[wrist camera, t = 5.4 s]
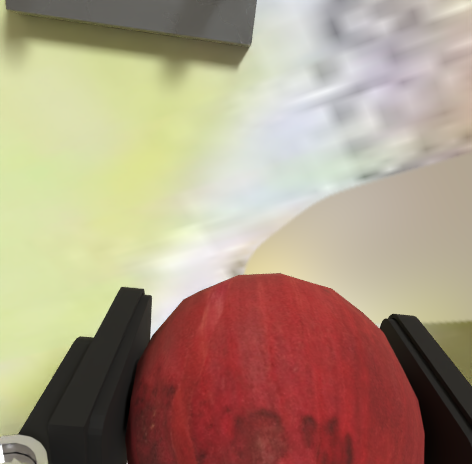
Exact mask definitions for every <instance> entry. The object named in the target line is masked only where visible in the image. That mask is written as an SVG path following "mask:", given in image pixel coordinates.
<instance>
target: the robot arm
mask: <svg viewBox="0 0 472 464" xmlns="http://www.w3.org/2000/svg"><path fill="white" fill-rule="evenodd" d="M151 307H152V296H151V295H145V292H144V289H138V288H128V287H121V288H120V290H119V292H118V294H117V296H116V297H115V299H114V301H113V303H112V305H111V307H110V309H109V311H108V312H107V314H106V316H105V318H104V320H103V322H102V324H101V325H100V327H99V329H98V331H97V333H96V335H95V337H94V338H91V337H78V338H77V339H76V340H75V341H74V343H73V344H72V346H71V348H70V349H69V351H68V353H67V354H66V356H65V358H64V359H63V361H62V363H61V364H60V366H59V367H58V369H57V371H56V372H55V374H54V376H53V377H52V379H51V381H50V382H49V384H48V386H47V387H46V389H45V391H44V392H43V394H42V396H41V397H40V399H39V401H38V402H37V404H36V406H35V407H34V409H33V411H32V412H31V414H30V416H29V417H28V419H27V421H26V422H25V424H24V426H23V427H22V429H21V431H20V432H19V434H18V435H9V436H2V437H0V464H126V463H127V452H126V442H125V436H126V429H127V423H128V416H129V409H130V402H131V396H132V390H133V385H134V380H135V374H136V369H137V364H138V361H139V359H140V358H141V356H142V354H143V352H144V350H145V349H146V347H147V345H148V343H149V341H150V329H151ZM380 330H381V331H382V332H384V334H385V336H386V338H387V340H388V342H389V344H390V346H391V348H392V349H393V351H394V353H395V355H396V357H397V359H398V361H399V363H400V365H401V367H402V368H403V370H404V372H405V374H406V377H407V379H408V381H409V383H410V385H411V387H412V389H413V391H414V393H415V395H416V397H417V399H418V402H419V407H420V413H421V418H422V423H423V428H424V433H425V437H424V464H472V386H471V385H470V383H469V382H468V381H467V380H466V378H465V377H464V376H463V375H462V373H461V372H460V371H459V370H458V368H457V367H456V366H455V365H454V363H453V362H452V361H451V360H450V358H449V357H448V356H447V355H446V353H445V352H444V351H443V350H442V348H441V347H440V346H439V345H438V343H437V342H436V341H435V340H434V338H433V337H432V336H431V335H430V333H429V332H428V331H427V330H426V328H425V327H424V326H423V324H422V323H421V322H420V321H419V320H418V319H417V318H416V317H415V316H410V315H400V314H392V315H390V316H389V318H388V319H384V320H383V321H382V323H381V326H380Z"/></svg>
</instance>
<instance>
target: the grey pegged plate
mask: <svg viewBox="0 0 472 464" xmlns="http://www.w3.org/2000/svg"><path fill="white" fill-rule="evenodd" d="M256 2H257V0H6V9H7V10H10V11H12V12H15V13H18V14H24V15H30V16H37V17H44V18H51V19H58V20H65V21H72V22H79V23H86V24H93V25H99V26H106V27H113V28H120V29H127V30H134V31H141V32H148V33H155V34H162V35H168V36H175V37H182V38H189V39H196V40H203V41H210V42H217V43H224V44H231V45H238V46H244V47H250V46H251V42H252V34H253V26H254V18H255V10H256Z"/></svg>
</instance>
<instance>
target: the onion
mask: <svg viewBox="0 0 472 464" xmlns="http://www.w3.org/2000/svg"><path fill="white" fill-rule="evenodd" d="M424 437H425V433H424V428H423V423H422V418H421V413H420V407H419V402H418V399H417V397H416V395H415V393H414V391H413V389H412V387H411V385H410V383H409V381H408V379H407V377H406V374H405V372H404V370H403V368H402V367H401V365H400V363H399V361H398V359H397V357H396V355H395V353H394V351H393V349H392V348H391V346H390V344H389V342H388V340H387V338H386V336H385V334H384V332H382V331H381V330H380V329H379V328H378V327H377V326H376V325H375V324H374V323H373V322H372V321H371V320H370V319H369V318H368V317H367V316H366V315H364V313H362V312H361V311H360V310H359V309H357V308H356V307H355V306H353V305H352V304H351V303H350V302H348V301H347V300H345V299H344V298H343V297H342V296H340V295H339V294H338V293H336V292H335V291H334V290H333V289H331V288H328V287H324V286H321V285H317V284H313V283H310V282H307V281H304V280H300V279H297V278H294V277H290V276H287V275H284V274H281V273H276V274H253V275H238V276H235V277H233V278H230V279H228V280H226V281H223V282H221V283H218V284H216V285H214V286H211V287H209V288H206V289H204V290H202V291H199V292H197V293H195V294H193V295H191V296H190V297H188V298H186V299H184V300H183V301H182V302H181V303H180V304H179V306H178V307H177V308H176V309H175V310H174V311H173V312H172V314H171V315H170V316H169V317H168V318H167V319H166V321H165V322H164V323H163V324H162V325H161V326H160V328H159V329H158V330H157V331H156V332H155V333H154V334H153V336H152V338H151V340H150V341H149V343H148V345H147V347H146V349H145V350H144V352H143V354H142V356H141V358H140V359H139V361H138V364H137V369H136V374H135V380H134V385H133V390H132V396H131V402H130V409H129V416H128V423H127V429H126V436H125V442H126V452H127V462H128V464H424Z"/></svg>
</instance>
